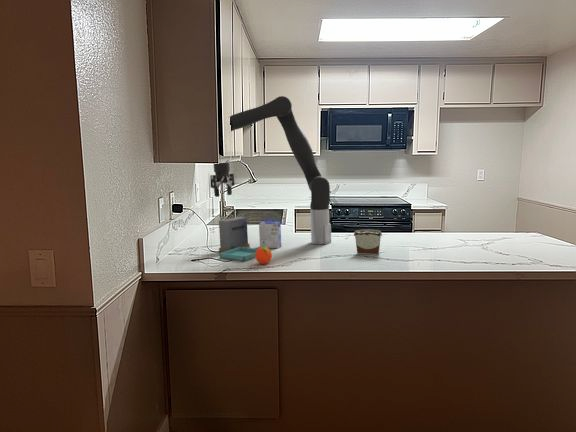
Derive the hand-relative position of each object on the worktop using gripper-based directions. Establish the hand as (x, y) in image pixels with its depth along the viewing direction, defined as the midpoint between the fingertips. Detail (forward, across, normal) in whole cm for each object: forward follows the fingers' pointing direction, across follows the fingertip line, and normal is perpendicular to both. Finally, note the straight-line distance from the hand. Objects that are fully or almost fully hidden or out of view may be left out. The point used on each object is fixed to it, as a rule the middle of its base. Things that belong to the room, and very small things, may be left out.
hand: (223, 195), depth 199 cm
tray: (+26, -10, -19) cm, 34 cm away
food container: (+26, +21, -66) cm, 74 cm away
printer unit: (+26, -2, -7) cm, 27 cm away
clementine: (+26, -16, -36) cm, 48 cm away
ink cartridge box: (+26, +11, -19) cm, 34 cm away
